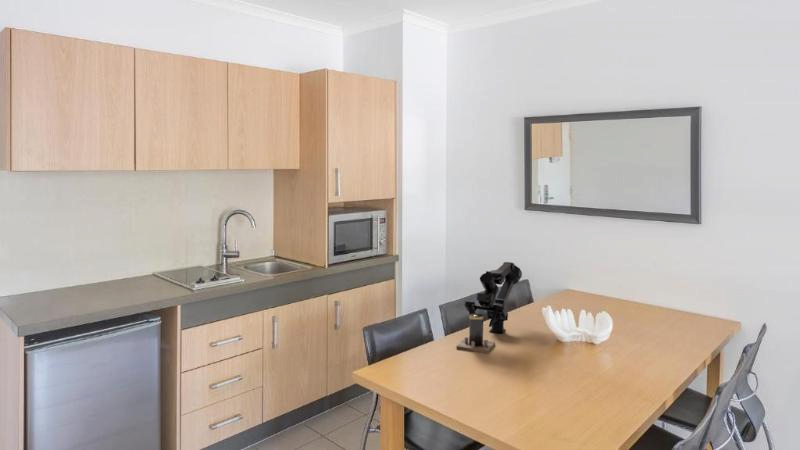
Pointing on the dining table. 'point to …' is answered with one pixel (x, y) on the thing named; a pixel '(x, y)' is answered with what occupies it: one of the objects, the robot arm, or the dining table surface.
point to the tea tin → (476, 329)
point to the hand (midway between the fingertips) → (479, 325)
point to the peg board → (483, 349)
